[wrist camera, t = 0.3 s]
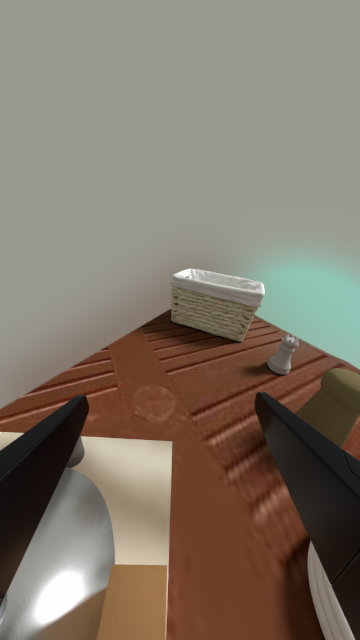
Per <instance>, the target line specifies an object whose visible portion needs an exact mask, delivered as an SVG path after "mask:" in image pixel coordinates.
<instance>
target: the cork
mask: <svg viewBox="0 0 360 640" xmlns="http://www.w3.org/2000/svg"><path fill="white" fill-rule="evenodd" d="M321 387H322V388H321V389H320V390H319V391H318V392H317V393H316V394H315V395H314V396H313V397H312V398H311V399H310V400H309V401H308V402H307V403H306V404H305V405H304V406H303V407H302V408H301V409H300V410H299V411H298V412H297V413H296V415H297V416H298V417H300V418H301V419H303V420H304V421H305V422H307V423H308V424H309V425H311V426H312V427H313V428H315V429H316V430H317V431H319V432H320V433H322V434H323V435H324V436H326V437H327V438H328V439H330V440H331V441H332V442H334V443H335V444H337V445H338V446H339V447H341V449H342V447H343V445H344V443H345V441H346V440H347V438H348V436H349V434H350V432H351V430H352V428H353V427H354V425H355V423H356V421H357V419H358V417H359V415H360V375H359V374H357V373H354V372H352V371H349V370H345V369H340V368H335V369H331V370H329V371H327V372H326V373H325V374H324V375H323V377H322V379H321Z"/></svg>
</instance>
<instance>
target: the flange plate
mask: <svg viewBox="0 0 360 640" xmlns="http://www.w3.org/2000/svg"><path fill="white" fill-rule="evenodd" d="M166 591H167V565H125V564H116V554H115V543H114V533H113V528H112V523H111V519H110V514H109V511H108V508H107V505H106V502H105V500H104V498H103V496H102V494H101V492H100V490H99V489H98V488H97V486H96V485H95V484H94V483H93V481H91V480H90V479H89V478H88V477H87V476H86V475H84V474H82V473H80V472H79V471H77V470H74V469H71V468H68V467H66V468H65V470H64V472H63V474H62V476H61V479H60V481H59V483H58V485H57V487H56V489H55V491H54V493H53V496H52V498H51V500H50V502H49V504H48V506H47V508H46V510H45V513H44V515H43V517H42V519H41V521H40V523H39V525H38V527H37V530H36V532H35V534H34V536H33V538H32V540H31V542H30V544H29V547H28V549H27V551H26V553H25V555H24V557H23V559H22V561H21V564H20V566H19V568H18V570H17V572H16V574H15V576H14V578H13V581H12V583H11V585H10V587H9V589H8V591H7V593H6V595H5V597H4V598H3V602H2V604H1V606H0V640H165V621H166Z"/></svg>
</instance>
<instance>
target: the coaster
mask: <svg viewBox="0 0 360 640" xmlns="http://www.w3.org/2000/svg"><path fill="white" fill-rule="evenodd" d="M307 563H308V578H309V586H310V590H311V595H312V600H313V603H314V607H315V611H316V614H317V617H318V620H319V623H320V626H321V629H322V632H323V635H324V637H325V640H355V638H354V636H353V634H352V631H351V629H350V627H349V625H348V623H347V620H346V618H345V616H344V614H343V611H342V609H341V607H340V605H339V602H338V600H337V598H336V596H335V594H334V591H333V589H332V587H331V584H330V582H329V580H328V578H327V575H326V573H325V571H324V569H323V566H322V564H321V562H320V560H319V558H318V555H317V553H316V551H315V549H314V546H313V544H312V542H311V541H310V545H309V550H308V560H307Z"/></svg>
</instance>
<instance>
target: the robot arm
mask: <svg viewBox="0 0 360 640" xmlns="http://www.w3.org/2000/svg"><path fill="white" fill-rule="evenodd" d="M255 410H256V413H257V416H258V419H259V422H260V425H261V428H262V431H263V433H264V436H265V439H266V441H267V444H268V446H269V448H270V451H271V453H272V455H273V457H274V459H275V462H276V464H277V466H278V468H279V471H280V473H281V475H282V477H283V480H284V482H285V484H286V486H287V488H288V491H289V493H290V495H291V497H292V500H293V502H294V504H295V506H296V508H297V511H298V513H299V515H300V517H301V520H302V522H303V524H304V526H305V529H306V531H307V533H308V535H309V537H310V540H311V542H312V544H313V546H314V549H315V551H316V553H317V555H318V558H319V560H320V562H321V564H322V566H323V569H324V571H325V573H326V575H327V578H328V580H329V582H330V584H331V587H332V589H333V591H334V594H335V596H336V598H337V600H338V602H339V605H340V607H341V609H342V611H343V614H344V616H345V618H346V620H347V623H348V625H349V627H350V629H351V631H352V634H353V636H354V638H355V640H360V461H359V460H357V459H356V458H354V457H353V456H352V455H350V454H349V453H348V452H346V451H345V450H342V449H341V447H339V446H338V445H337V444H335V443H334V442H332V441H331V440H330V439H328V438H327V437H326V436H324V435H323V434H322V433H320V432H319V431H317V430H316V429H315V428H313V427H312V426H311V425H309V424H308V423H307V422H305V421H304V420H303V419H301V418H300V417H298V416H297V415H296V414H294V413H293V412H292V411H290V410H289V409H288V408H286V407H285V406H283V405H282V404H281V403H279V402H278V401H277V400H275V399H274V398H273V397H271V396H270V395H268V394H267V393H265V392H258V393H257V394H256V399H255ZM88 412H89V405H88V401H87V397H86V396H85V395H78V396H76V397H74V398H73V399H71V400H70V401H69V402H67V403H66V404H64V405H63V406H62V407H60V408H59V409H57V410H56V411H55V412H53V413H52V414H50V415H49V416H48V417H46V418H45V419H43V420H42V421H41V422H39V423H38V424H36V425H35V426H34V427H32V428H31V429H29V430H28V431H27V432H25V433H24V434H23V435H21V436H20V437H18V438H17V439H16V440H14V441H13V442H11V443H10V444H9V445H7V446H6V447H4V448H3V449H2V450H0V606H1V604H2V602H3V598H4V597H5V595H6V593H7V591H8V589H9V587H10V585H11V583H12V581H13V578H14V576H15V574H16V572H17V570H18V568H19V566H20V564H21V561H22V559H23V557H24V555H25V553H26V551H27V549H28V547H29V544H30V542H31V540H32V538H33V536H34V534H35V532H36V530H37V527H38V525H39V523H40V521H41V519H42V517H43V515H44V513H45V510H46V508H47V506H48V504H49V502H50V500H51V498H52V496H53V493H54V491H55V489H56V487H57V485H58V483H59V481H60V479H61V476H62V474H63V472H64V470H65V468H66V466H67V464H68V462H69V459H70V457H71V455H72V453H73V451H74V449H75V447H76V444H77V442H78V439H79V437H80V434H81V431H82V428H83V426H84V423H85V420H86V417H87V415H88Z"/></svg>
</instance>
